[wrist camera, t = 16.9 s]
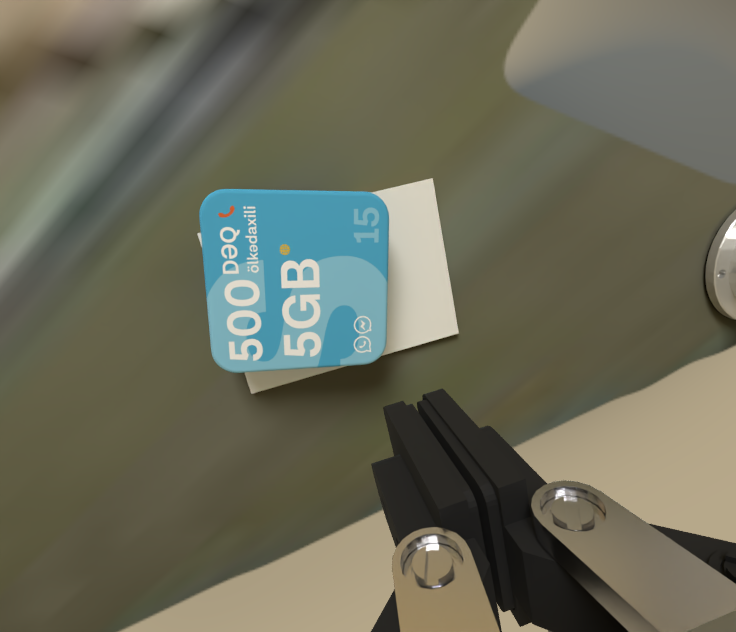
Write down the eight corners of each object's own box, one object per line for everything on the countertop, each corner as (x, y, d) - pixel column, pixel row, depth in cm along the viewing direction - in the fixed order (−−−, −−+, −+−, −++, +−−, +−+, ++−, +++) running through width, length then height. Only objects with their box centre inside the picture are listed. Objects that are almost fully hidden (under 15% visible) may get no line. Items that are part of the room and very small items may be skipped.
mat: (429, 178, 32) (432, 178, 32) (455, 331, 36) (458, 333, 36) (198, 233, 30) (197, 233, 29) (252, 390, 34) (251, 393, 33)
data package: (386, 364, 30) (212, 375, 27) (373, 345, 34) (221, 353, 32) (390, 192, 27) (196, 188, 25) (375, 194, 31) (208, 191, 29)
